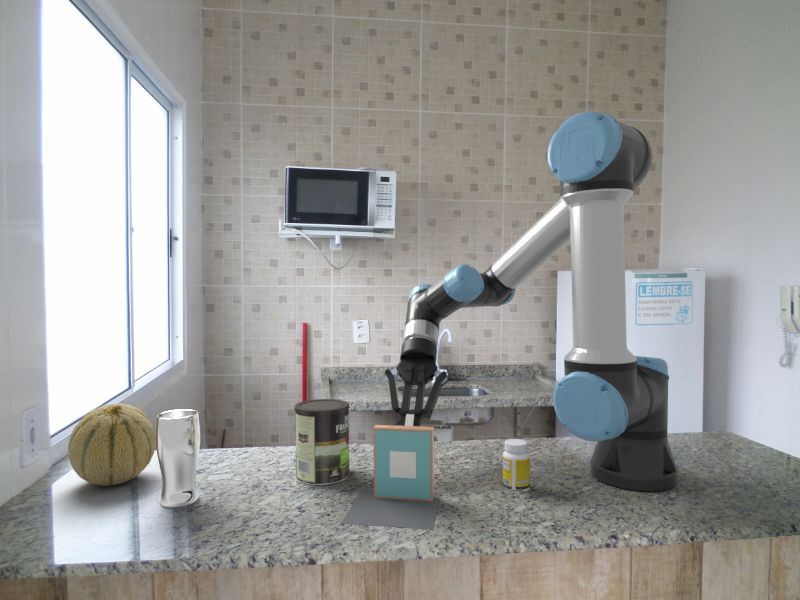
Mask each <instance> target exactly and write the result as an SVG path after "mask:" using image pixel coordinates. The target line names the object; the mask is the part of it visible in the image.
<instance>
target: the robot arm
mask: <svg viewBox="0 0 800 600" xmlns="http://www.w3.org/2000/svg"><path fill="white" fill-rule="evenodd" d="M546 155H547V164H548V166H549V169H550V171H551V173H553V175H554V176H555V177H556V178H557V179H558V180H559V186H560V187H559V188H560V189H559V190H560V195H559V196H560V199H559V200H558V201H556V203H554V204H553V205H552V206H551V207H550V208H549V209H548V210H547V211H546V212H545V213H544V214H543V215H542V216H541V217H540V218H538V220H537V221H536V222H535V223H533V224H532V226H530V228H528V230H526V231H525V233H523V234H522V235H521V236H520V238H518V239H517V240H516V241H515V242H514V243H513V244H512V245H510V247H509V248H508V249H506V251H504V252H503V254H501V255H500V256H499V258H497V259H496V261H494V262H493V263H492V265H490V266H489V267H488V268H487V269H486V270H484V271H483V272H481V273H480V272H479V271H478V270H477V268H475V267H474V266H473V267H472V266H471V265H470V264H466V263H464V264H460V265H458V266H456V267H455V268H453V269H450V270H449V271H448V272H447V273H446V274H445V275H444V276H442V277H441V278H440V279H439V280H437V281H435V283H433V284H429V283H428V284H427V283H422V284H421V285H416V286H414V288H413V289H412V290H411V292H410V295H409V298H408V301H407V305H406V307H407V308H406V315H405V316H406V317H405V324H404V329H403V330H404V331H403V336H402V344H401V349H400V357H399V361H398V363H397V364H396V365H395V368H393V369H385V371H384V375H385V380H386V381H387V383H388V386H389V394H390V404H391V410H392V414H393V416H394V417H395V418H399V425H398V426H421V424H422V423H421V422H422V420H423V419H431V417H432V415H433V412H434V409H435V407H436V404H437V402H438V399H439V396H440V394H441V391H442V389H443V387H444V386H445V385H446V383H447V382H448V373H447V372H446V371H445V370H444V371H441V370H439V369H438V365H437V356H438V347H439V335H440V326H441V322H442V321H443V320H445V319H446V318H447V317H449V316H451V315H453V314H454V313H455V312H457V311H458V310H460V309H468V308H478V307H479V308H481V307H500V306H505V305H506V304H507V305H508V304H509V303H510V302H511V301H512V300H513V299H514V297H515V294H516V289H517V288H518V287H519V286H520V285H521V284H523V283H524V282H525V281H526V280H527V279H529V277H530V276H532V275H533V274H534V273H535V272H536V271H537V270H538V269H540V268H541V267H542V266H543V265H544V264H545V263H547V262H548V261H549V260H550V259H551V258H553V256H554V255H555V254H557V253H558V251H560V250H561V249H562V248H563V247H565V246H566V245H567V244H568V243H569V242H570V260H571V261H570V263H571V265H570V267H571V268H570V270H571V272H570V273H571V274H570V275H571V276H570V277H571V305H572V306H571V309H572V310H571V314H572V317H571V318H572V319H571V320H572V322H571V323H572V348H571V349H570V351H568V352H567V354H565V355H564V358H563V364H564V365H563V366H564V372H563V373H564V376H563V377H562V378H561V379H560V380H559V382H558V383H557V384H556V386H555V389H554V391H553V397H552V398H553V399H552V400H553V401H552V402H553V407H554V412H555V414H556V416H557V418H558V420H559V422H560V423H561V425H563V426H564V427H565V428H566V429H567V431H568V432H570V434H572V435H574V436H575V437H577V438H580V439H581V440H584V441H587V442H596V443H595V447H594V450H593V452H592V455H591V458H590V470H589V471H590V475H592V477H593V478H594V479H596V480H598V481H600V482H602V483H604V484H606V485H610V486H613V487H617V488H621V489H626V490H631V491H632V490H633V491H640V492H641V491H642V492H660V491H667V490H670V489H671V490H672V488H675V487H676V486H677V485H678V483H679V482H678V481H679V480H678V479H679V477H678V476H679V471H678V468H677V467H678V466H677V464H676V462H675V459H674V455H673V452H672V450H671V446H670V443H669V440H668V427H669V425H668V423H669V422H668V421H669V412H668V411H669V380H670V375H669V368H668V363H667V361H665V359H664V358H660V357H650V356H640V355H634V354H633V353H632V352H631V351H630V350H629V349H628V346H627V343H628V341H627V304H626V303H627V301H626V298H627V297H626V291H627V290H626V261H625V260H626V255H625V254H626V251H625V250H626V249H625V204H626V202H627V201H629V199H630V198H631V197H632V196H633V195H634V192H635V191H636V189H638V188H639V186H640V185H641V184H642V183H643V182H644V181H645V179H646V178H647V176H648V174H649V172H650V170H651V166H652V163H653V149H652V145H651V142H650V141H649V139H648V138H647V136H646V134H644V133H643V132H642V131H641V130H639V129H638V128H636V127H634V126H631V125H628V124H626V123H623V122H621V121H619V120H617V118H615V116H613V115H611V114H608V113H606V112H605V113H601V112H598V111H593V110H587V111H583V112H578V113H575V114H574V115H572V116H570V117H569V118H567V119H566V120H564V122H562V123H561V124H560V126H559V127H558V129H557V130H555V131H554V133H553V135H552V137H551V139H550V141H549V145H548V147H547V154H546ZM398 376H399V377H400V379H401V380H402V382H403V383H404V385H403V386H404V387H403V392H402V393H403V394H402V401H401V407H399V398H398V393H397V392H398V389H397V384H396V381H397V380H398ZM433 378H434V381H433V385H432V387H431V389H430V393H429V395H428V398H427V399H426V403H425V405H424V401H425V399H424V398H425V392H426V385H427V384H429V382H431V381H432V380H433ZM414 386H416V392H415V393H416V394H415V402H414V409H413V413H414V414H413V413H412V414H410V408H411V401H412V392H413V388H414ZM423 407H424V408H423ZM421 427H422V426H421Z"/></svg>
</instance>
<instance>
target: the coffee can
mask: <svg viewBox="0 0 800 600" xmlns="http://www.w3.org/2000/svg"><path fill="white" fill-rule="evenodd" d="M293 407H294V422H295V423H294V424H295V426H294V427H295V430H294V432H295V482H296V483H297V484H299V485H300V483H302V484H306V485H313V486H317V485H318V486H322V485H323V486H325V485H331V484H336V483H339V482H342V481H344V480H346V479H347V478H349V476H350V422H349V421H350V415H349V414H350V412H349V411H350V409H349V408H350V403H349V402H348V401H346V400H342V399H334V398H318V399H308V400H304V401H300V402H297V403H296V404H294V406H293Z"/></svg>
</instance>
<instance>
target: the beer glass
mask: <svg viewBox="0 0 800 600" xmlns="http://www.w3.org/2000/svg"><path fill="white" fill-rule="evenodd" d="M155 425H156V427H155V436H156V445H155V450H156V454H157V455H156V456H157V461H158V465H159V470H160V475H161V483H162V485H161V495H160V499H159V504H160V505H161V506H162V507H163V508H168V509H175V508H176V509H177V507H178V508H183V507H188V506H191V505H192V504H194V503H195V502H198V500H199V491H198V486H197V477H196V476H197V468H198V467H197V466H198V460H199V454H200V447H201V426H200V420H199V411H198V410H195V409H188V408H187V409H186V408H185V409H183V408H182V409H173V410H167V411H163V412H161V413H158V414H157V415H156V424H155Z"/></svg>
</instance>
